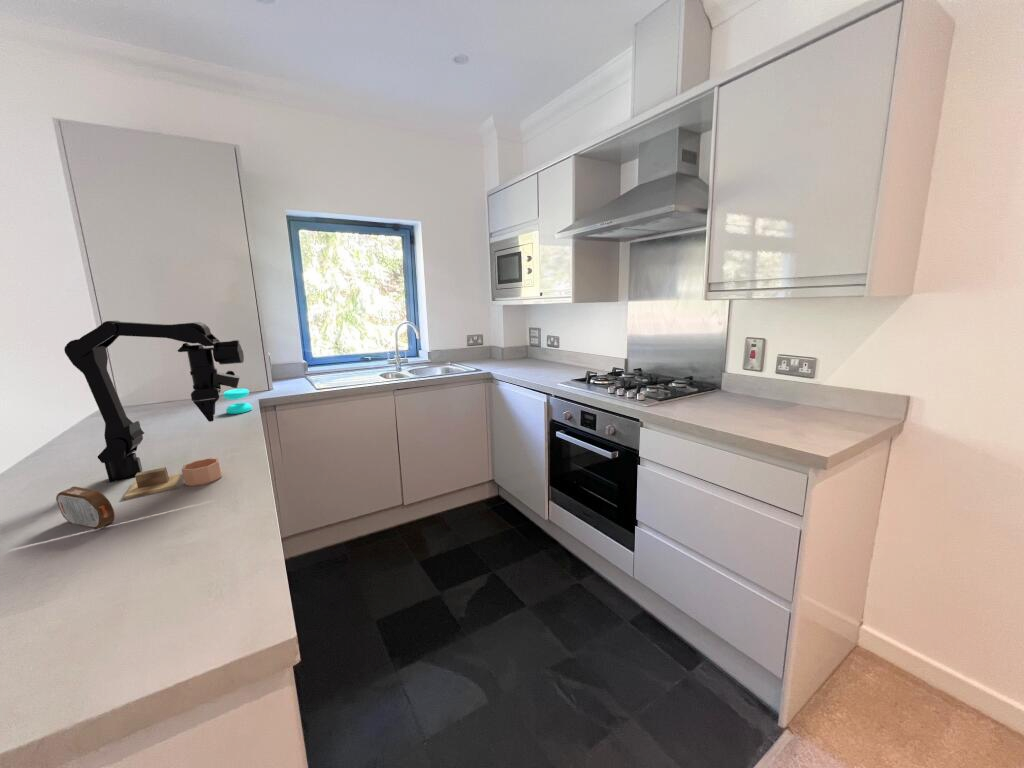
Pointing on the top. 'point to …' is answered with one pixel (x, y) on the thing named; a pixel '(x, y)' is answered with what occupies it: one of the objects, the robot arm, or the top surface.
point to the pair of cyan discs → (237, 407)
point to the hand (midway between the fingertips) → (212, 418)
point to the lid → (152, 482)
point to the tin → (85, 507)
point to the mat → (156, 492)
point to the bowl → (202, 471)
